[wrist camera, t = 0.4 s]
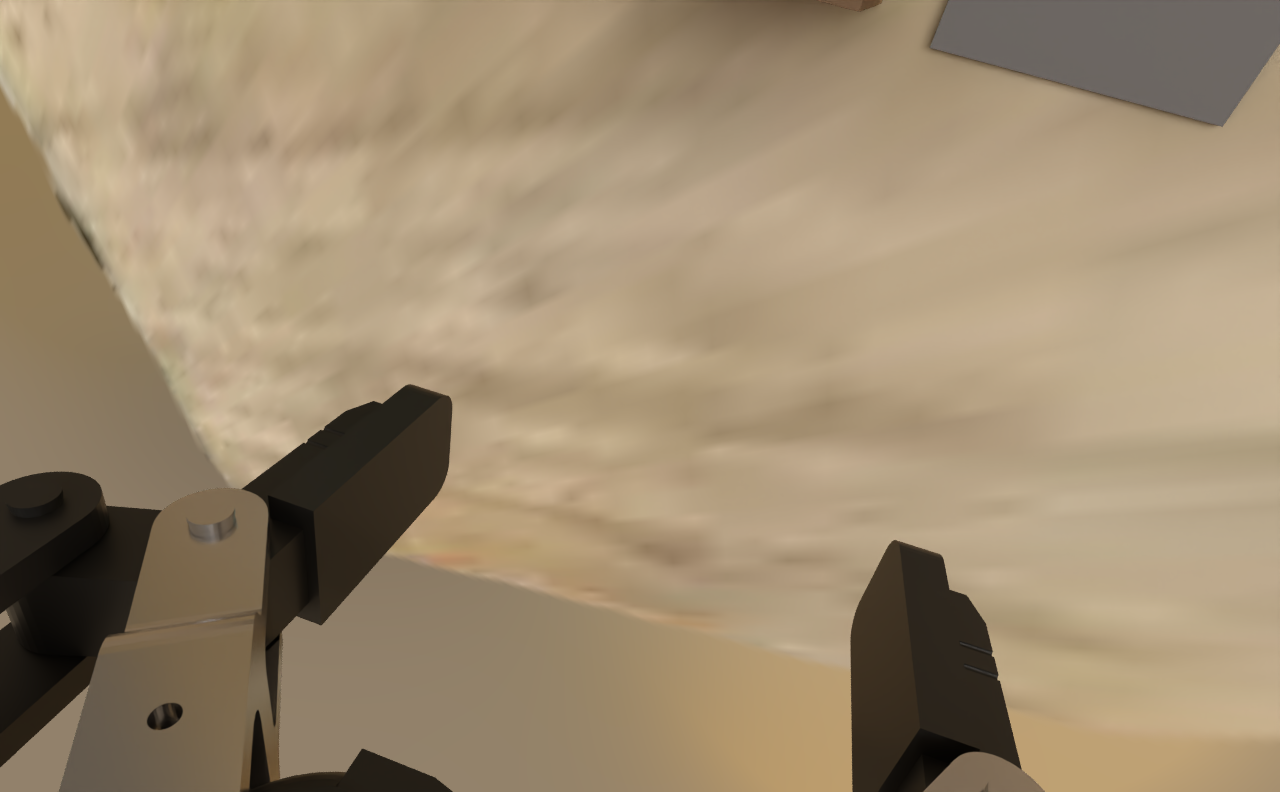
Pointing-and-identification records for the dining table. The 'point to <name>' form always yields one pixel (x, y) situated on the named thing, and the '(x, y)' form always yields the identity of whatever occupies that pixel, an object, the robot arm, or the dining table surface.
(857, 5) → the frame
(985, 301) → the dining table surface
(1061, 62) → the pad
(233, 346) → the dining table surface
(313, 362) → the dining table surface
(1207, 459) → the dining table surface
